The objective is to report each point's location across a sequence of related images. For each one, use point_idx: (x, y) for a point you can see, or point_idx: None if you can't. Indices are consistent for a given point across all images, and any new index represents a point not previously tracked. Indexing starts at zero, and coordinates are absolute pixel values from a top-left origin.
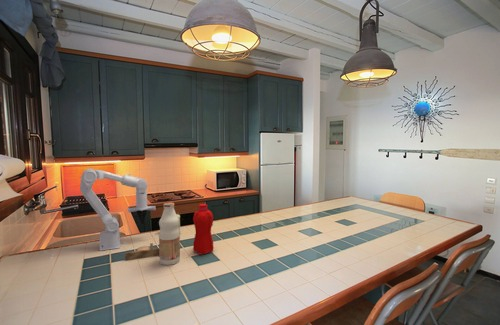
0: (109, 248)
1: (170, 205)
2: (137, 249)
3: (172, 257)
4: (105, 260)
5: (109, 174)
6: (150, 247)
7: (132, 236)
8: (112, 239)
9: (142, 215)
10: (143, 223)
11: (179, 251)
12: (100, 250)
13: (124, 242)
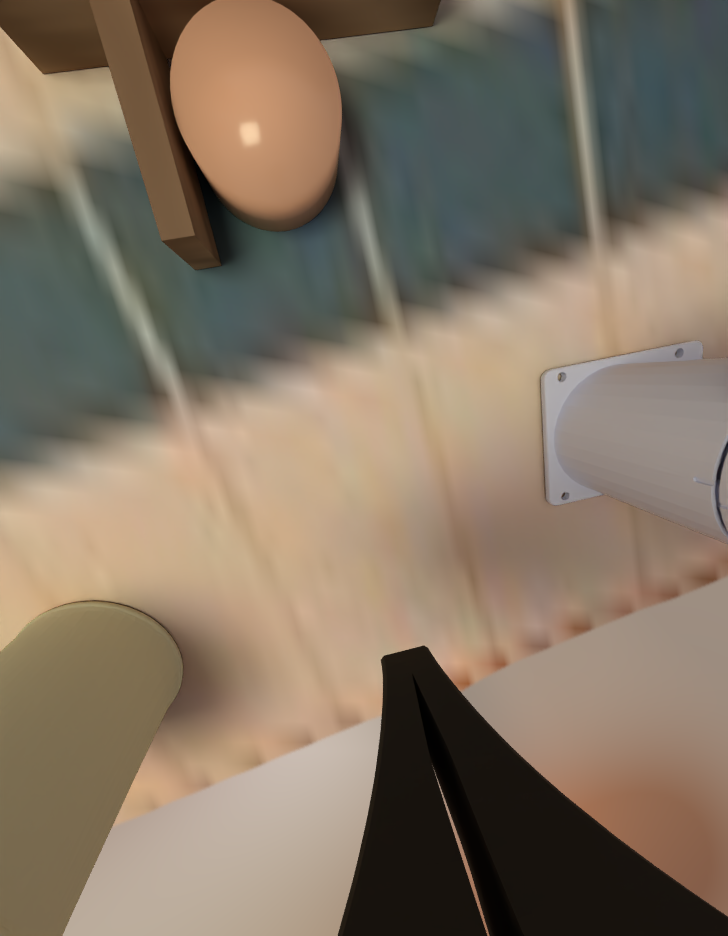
0: (628, 358)
1: None
2: (331, 87)
3: None
4: (622, 68)
5: None
6: (138, 48)
7: (477, 638)
8: (689, 364)
9: (461, 874)
10: (383, 658)
11: None
12: (689, 342)
13: (520, 512)
